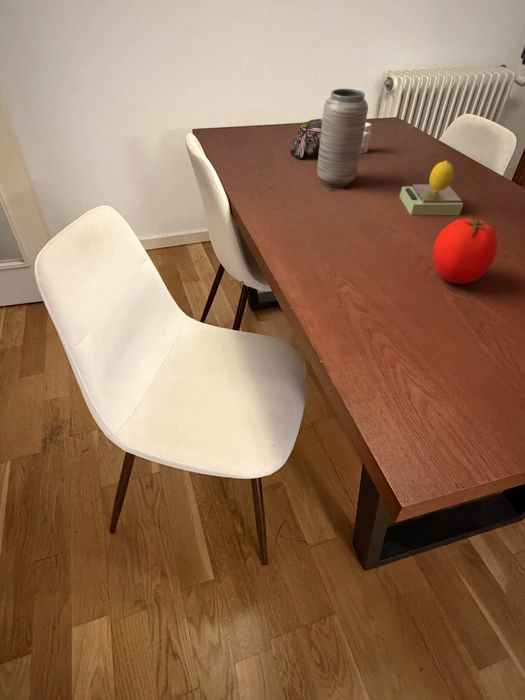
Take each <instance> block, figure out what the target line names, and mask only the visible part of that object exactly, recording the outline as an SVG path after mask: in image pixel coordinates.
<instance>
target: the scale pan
mask: <svg viewBox="0 0 525 700" xmlns="http://www.w3.org/2000/svg"><path fill="white" fill-rule="evenodd" d="M411 187H412V188H413V190H414V191H415V193H416V194H417V196H418V197H419V198H420V200H421V201H422V203H461V202H462V201H463V200H462V199H461V197H460V196H459V195H458V194H457V193H456V192H455V191H454V189H453V188H452V187H451V185H449V186H448V187H447V188H446V189H444V190H440V191H439V192H435V190H434V189H433V188H432V187H431V186H430V183H429V184H427V183H426V184H423V183H422V184H421V183H420V184H418V183H417V184H415V183H414V184H411Z"/></svg>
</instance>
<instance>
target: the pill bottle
mask: <svg viewBox="0 0 525 700" xmlns="http://www.w3.org/2000/svg"><path fill="white" fill-rule="evenodd" d="M371 129H372V123H370V122H366V124H365V129H364V135H363V140H362V146H361V152H360V154H365V153H368V150H369V146H370V140H371V134H372V131H371Z"/></svg>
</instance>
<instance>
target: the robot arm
mask: <svg viewBox="0 0 525 700" xmlns="http://www.w3.org/2000/svg"><path fill="white" fill-rule="evenodd" d="M520 59H521V65H523V66H525V45H524V46H523V49H522V52H521V54H520Z"/></svg>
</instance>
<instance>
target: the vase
mask: <svg viewBox="0 0 525 700" xmlns="http://www.w3.org/2000/svg"><path fill="white" fill-rule="evenodd" d="M365 95H366V94H365V92H364V91H362V90H358V89H353V88H337V89H333V90H332V91H331V92H330V96H329V97H328V98H327V99H326V100H325V102H324V105H323V109H322V110H323V111H322V118H321V119H322V128H321V137H320V146H319V149H318V158H317V167H316V174H317V176H318V179H319V180H320V182H321V184H323V185H324V186H326V187H330V188H345V187H347V186H349V185H350V183H352V182H353V181H354V180H355V178H356V177H357V174H358V167H359V162H360V156H361V153H360V152H361V146H362V140H363V135H364V129H365V124H366V123H367V117H368V112H369V105H368V102H367V101H366V99H365V98H366V97H365Z"/></svg>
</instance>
